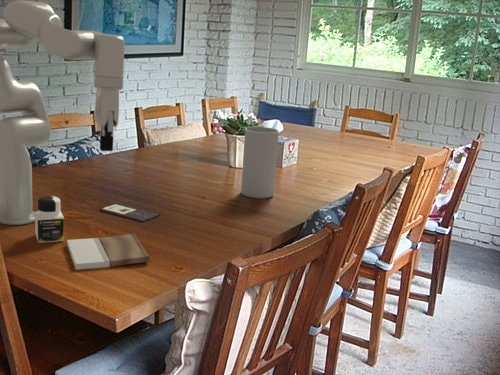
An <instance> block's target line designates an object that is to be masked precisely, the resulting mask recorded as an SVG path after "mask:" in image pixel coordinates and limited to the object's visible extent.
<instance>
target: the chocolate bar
mask: <svg viewBox="0 0 500 375" xmlns="http://www.w3.org/2000/svg"><path fill="white" fill-rule="evenodd" d="M99 212H103V213H105V212H106V214H109V213H110V215H112V216H118V217H121V218H124V217H125V218H124V219H128V218H129V219H128V220H132V221H136V220H137V222H139V223H145V221H146V222H147V221H150V219H151V220H153V219H156V218H158V216H159V217H161V214H160V213H157V212H152V211H148V210H145V209H140V208H137V207H133V206H129V205H125V204H122V203H114V204H112V205H110V206H109V205H108V206H105V207H103V208H100V209H99ZM155 217H156V218H155Z"/></svg>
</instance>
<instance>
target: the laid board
mask: <svg viewBox="0 0 500 375" xmlns="http://www.w3.org/2000/svg"><path fill="white" fill-rule="evenodd" d="M99 238H100V237H93V238H92V237H91V238H79V239H77V238H75V239H66V246H67V249H68V252H69V255H70V257H71V260H72V264H73V265H74V269H75V270H76V271H78V270H87V269H88V270H89V269H100V268H101V269H103V268H110V267H111V265H110V260H109V258H108V256H107V254H106V252H105V250H104V248H103V246H102V244H101V242H100V240H99Z"/></svg>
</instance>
